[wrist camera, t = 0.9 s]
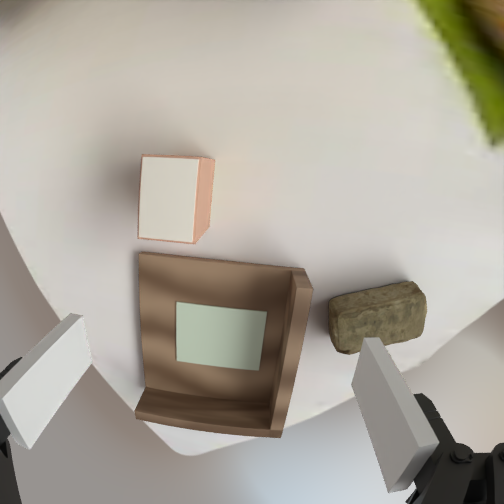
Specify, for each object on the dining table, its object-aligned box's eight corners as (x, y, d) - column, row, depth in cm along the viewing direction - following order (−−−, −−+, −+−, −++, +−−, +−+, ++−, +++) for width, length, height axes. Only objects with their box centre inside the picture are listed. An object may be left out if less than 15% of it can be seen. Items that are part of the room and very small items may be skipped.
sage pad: (176, 301, 34) (176, 302, 34) (266, 311, 34) (266, 312, 34) (177, 359, 36) (176, 360, 36) (258, 369, 36) (258, 370, 36)
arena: (141, 251, 34) (120, 267, 28) (304, 268, 34) (313, 288, 28) (148, 390, 39) (136, 418, 33) (278, 406, 39) (280, 437, 33)
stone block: (322, 296, 35) (332, 315, 30) (412, 275, 34) (432, 290, 29) (327, 338, 36) (336, 361, 32) (412, 317, 36) (430, 336, 31)
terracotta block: (168, 157, 31) (140, 154, 23) (215, 159, 31) (201, 156, 23) (164, 222, 33) (136, 239, 25) (209, 226, 33) (194, 245, 25)
